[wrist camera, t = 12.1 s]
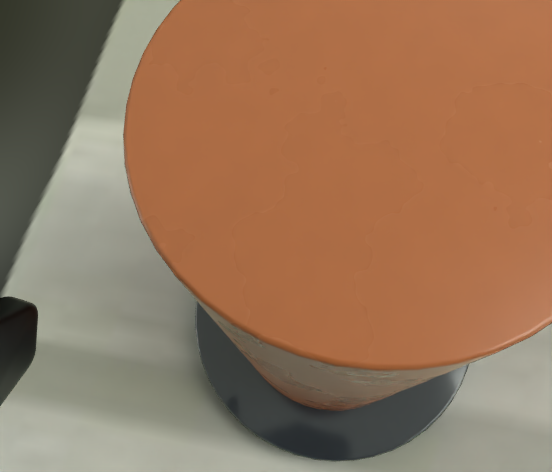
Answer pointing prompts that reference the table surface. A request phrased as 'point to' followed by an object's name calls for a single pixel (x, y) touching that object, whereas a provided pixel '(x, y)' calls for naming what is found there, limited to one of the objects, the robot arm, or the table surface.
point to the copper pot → (351, 182)
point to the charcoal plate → (317, 422)
